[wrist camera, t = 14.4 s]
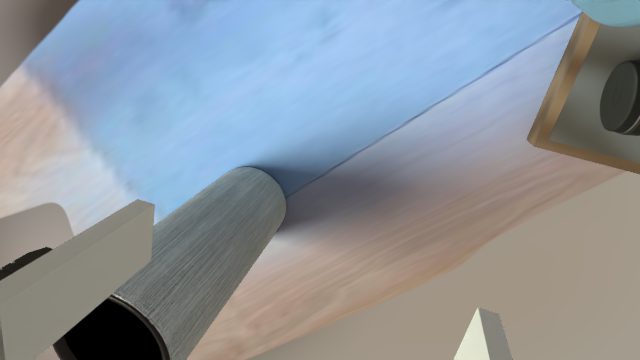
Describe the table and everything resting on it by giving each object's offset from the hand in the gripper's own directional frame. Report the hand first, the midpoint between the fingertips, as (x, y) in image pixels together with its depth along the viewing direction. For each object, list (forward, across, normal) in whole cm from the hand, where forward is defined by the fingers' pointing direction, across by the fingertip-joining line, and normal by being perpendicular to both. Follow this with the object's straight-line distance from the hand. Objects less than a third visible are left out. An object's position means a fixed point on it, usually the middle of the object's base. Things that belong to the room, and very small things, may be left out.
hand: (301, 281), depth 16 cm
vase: (+33, -13, -15) cm, 38 cm away
